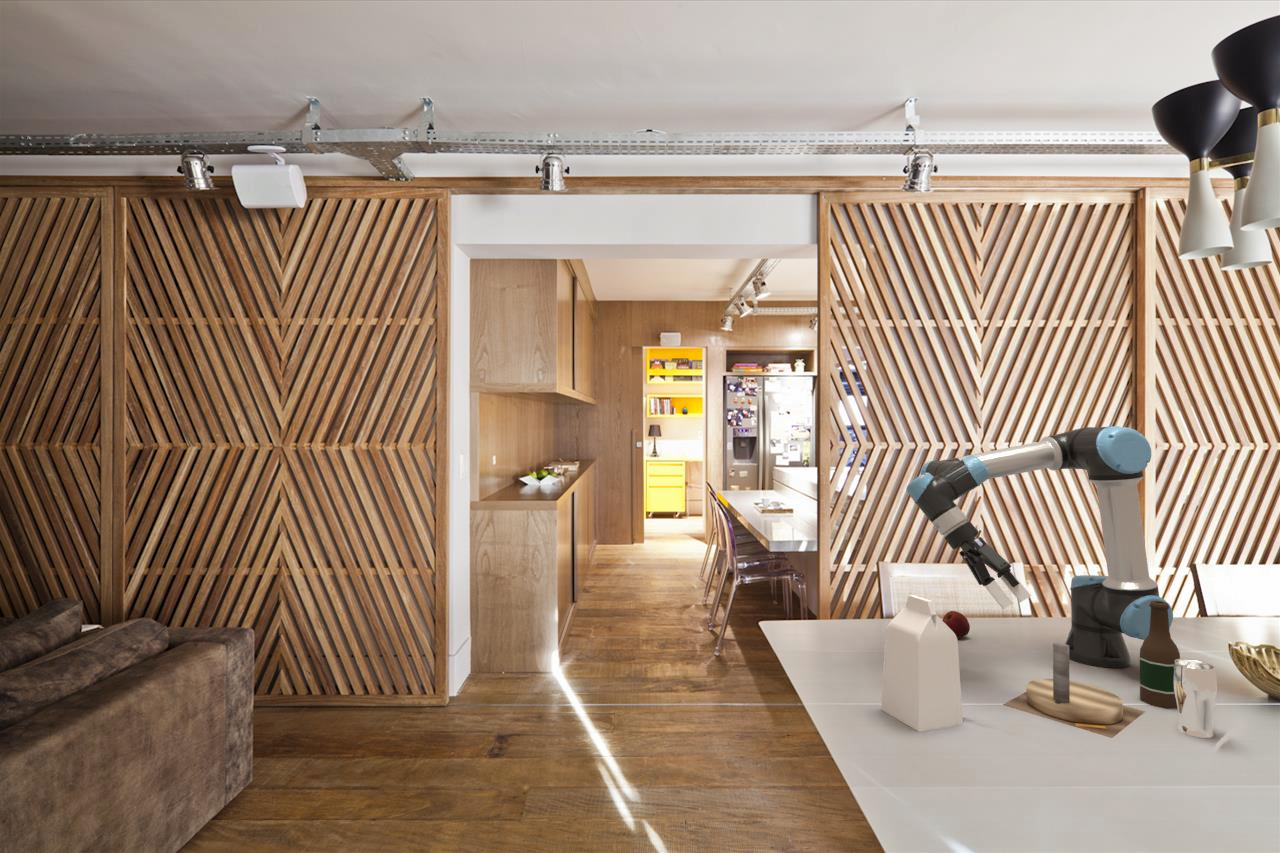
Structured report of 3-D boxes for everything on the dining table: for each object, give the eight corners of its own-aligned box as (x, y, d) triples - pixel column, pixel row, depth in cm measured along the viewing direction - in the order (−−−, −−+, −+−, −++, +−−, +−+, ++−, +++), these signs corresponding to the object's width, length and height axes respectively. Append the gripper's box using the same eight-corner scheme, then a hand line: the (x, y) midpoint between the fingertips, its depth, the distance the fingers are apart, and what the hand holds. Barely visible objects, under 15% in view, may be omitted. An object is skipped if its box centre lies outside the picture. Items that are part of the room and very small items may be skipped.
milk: (881, 709, 150) (880, 593, 151) (922, 703, 154) (922, 590, 154) (918, 731, 139) (918, 606, 139) (962, 724, 142) (962, 602, 143)
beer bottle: (1173, 703, 154) (1172, 599, 154) (1188, 716, 147) (1187, 607, 147) (1133, 699, 157) (1132, 596, 157) (1146, 711, 149) (1145, 604, 150)
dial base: (1041, 688, 163) (1041, 682, 163) (1145, 716, 147) (1145, 710, 147) (1002, 709, 150) (1002, 703, 150) (1112, 743, 134) (1112, 736, 134)
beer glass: (1225, 746, 132) (1225, 671, 133) (1186, 743, 134) (1185, 668, 134) (1203, 731, 139) (1203, 659, 140) (1166, 728, 141) (1165, 657, 141)
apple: (938, 633, 209) (938, 607, 209) (965, 634, 208) (964, 608, 208) (946, 640, 202) (946, 613, 202) (973, 641, 201) (973, 614, 201)
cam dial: (1045, 685, 161) (1044, 623, 161) (1134, 710, 147) (1134, 641, 147) (1012, 704, 150) (1012, 637, 150) (1105, 732, 136) (1105, 658, 136)
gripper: (933, 546, 179) (989, 616, 170) (954, 525, 156) (1019, 604, 147) (957, 532, 179) (1014, 601, 170) (981, 508, 156) (1048, 586, 147)
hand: (1016, 602), depth 159 cm, fingers open, 13 cm apart
